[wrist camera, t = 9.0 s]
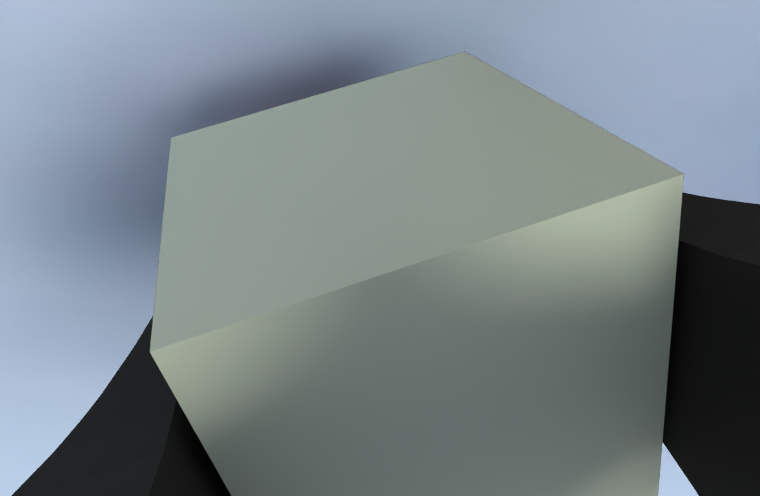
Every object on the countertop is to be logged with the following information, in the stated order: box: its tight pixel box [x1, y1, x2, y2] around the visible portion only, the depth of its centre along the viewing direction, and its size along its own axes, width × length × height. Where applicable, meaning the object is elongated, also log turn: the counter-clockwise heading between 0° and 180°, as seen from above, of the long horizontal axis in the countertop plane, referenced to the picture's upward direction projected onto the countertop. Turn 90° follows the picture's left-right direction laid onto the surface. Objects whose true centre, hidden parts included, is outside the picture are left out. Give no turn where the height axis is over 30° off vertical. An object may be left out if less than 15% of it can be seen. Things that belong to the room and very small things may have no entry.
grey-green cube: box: [150, 52, 684, 496], centre depth 10 cm, size 6×6×6 cm
